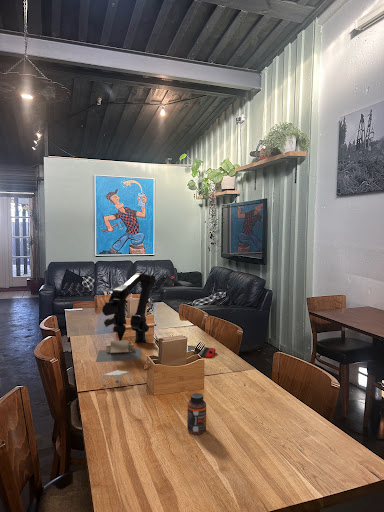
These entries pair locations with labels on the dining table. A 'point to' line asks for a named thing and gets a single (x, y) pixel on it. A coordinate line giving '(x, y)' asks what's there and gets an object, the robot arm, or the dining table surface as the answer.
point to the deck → (119, 347)
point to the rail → (108, 348)
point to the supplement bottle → (196, 414)
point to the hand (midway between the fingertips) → (120, 340)
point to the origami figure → (116, 373)
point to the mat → (118, 356)
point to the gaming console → (204, 351)
